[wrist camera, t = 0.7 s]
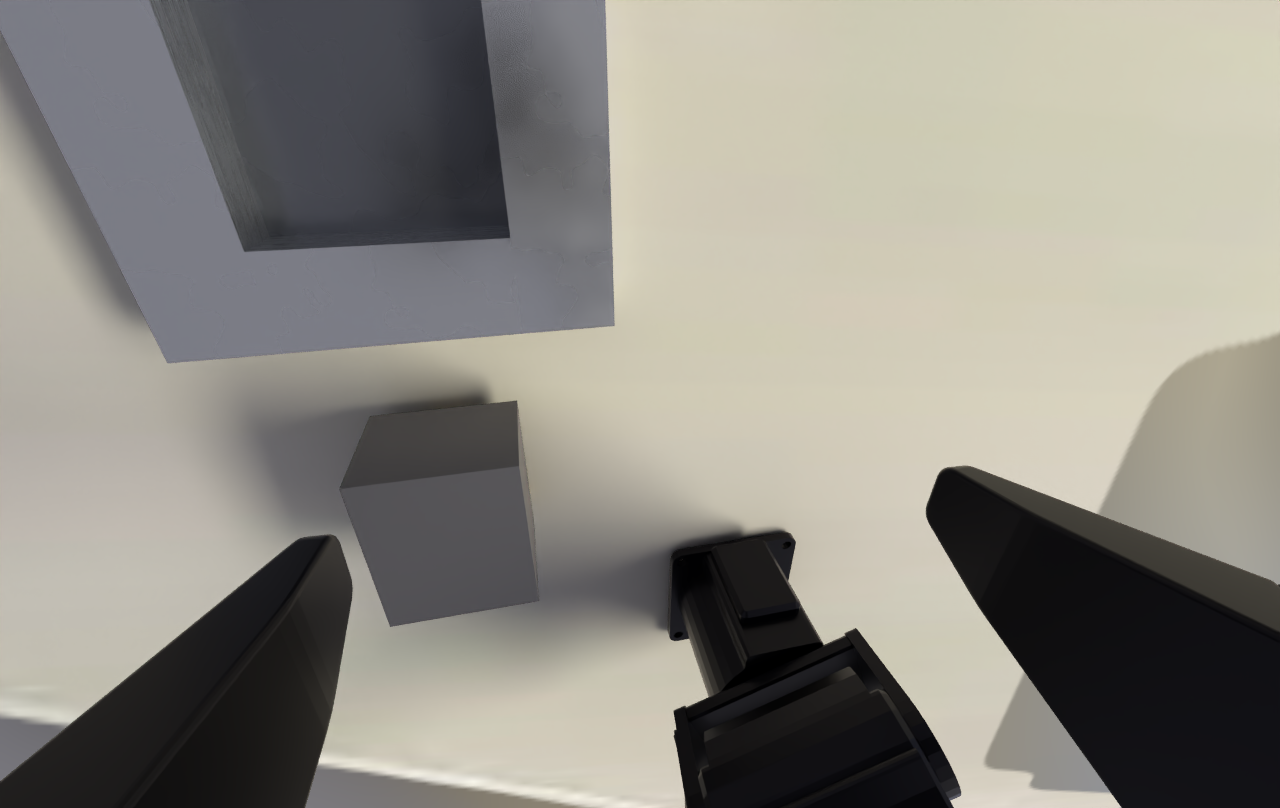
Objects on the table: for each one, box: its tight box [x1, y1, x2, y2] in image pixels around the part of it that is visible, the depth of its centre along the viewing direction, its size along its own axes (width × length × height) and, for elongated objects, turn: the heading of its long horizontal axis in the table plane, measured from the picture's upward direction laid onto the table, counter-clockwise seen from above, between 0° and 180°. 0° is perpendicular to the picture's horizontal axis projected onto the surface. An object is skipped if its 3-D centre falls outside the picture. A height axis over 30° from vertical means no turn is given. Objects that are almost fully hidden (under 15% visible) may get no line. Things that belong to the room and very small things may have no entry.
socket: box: [0, 0, 615, 363], centre depth 13 cm, size 14×13×3 cm
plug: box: [340, 401, 539, 627], centre depth 19 cm, size 6×5×5 cm
